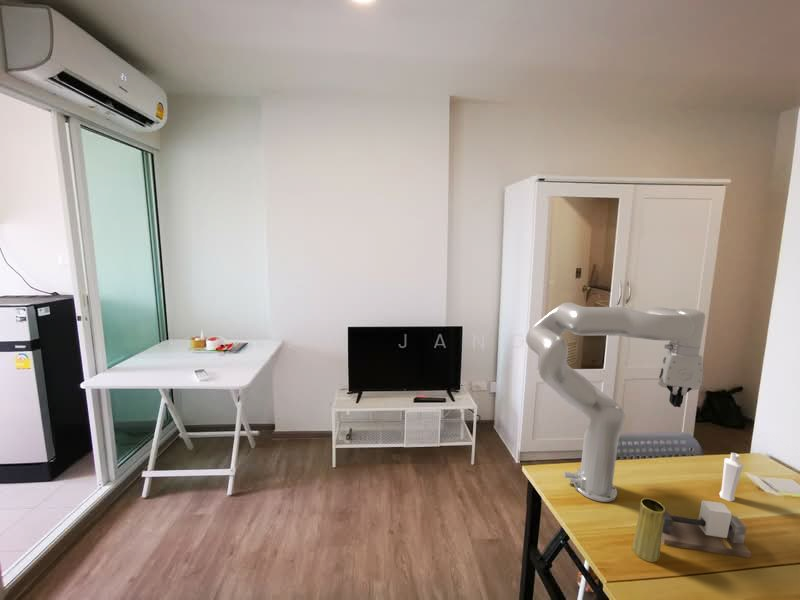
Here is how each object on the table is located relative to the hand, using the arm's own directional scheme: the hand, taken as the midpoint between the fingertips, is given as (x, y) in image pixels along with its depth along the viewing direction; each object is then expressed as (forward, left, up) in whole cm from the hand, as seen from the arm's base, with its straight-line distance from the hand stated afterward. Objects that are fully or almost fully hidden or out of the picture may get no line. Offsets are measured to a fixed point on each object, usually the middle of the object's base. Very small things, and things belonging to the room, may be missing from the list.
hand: (675, 405), depth 121 cm
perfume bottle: (+18, -1, -29) cm, 34 cm away
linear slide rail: (0, -21, -29) cm, 36 cm away
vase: (-16, -30, -29) cm, 45 cm away
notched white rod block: (+3, -21, -27) cm, 34 cm away
